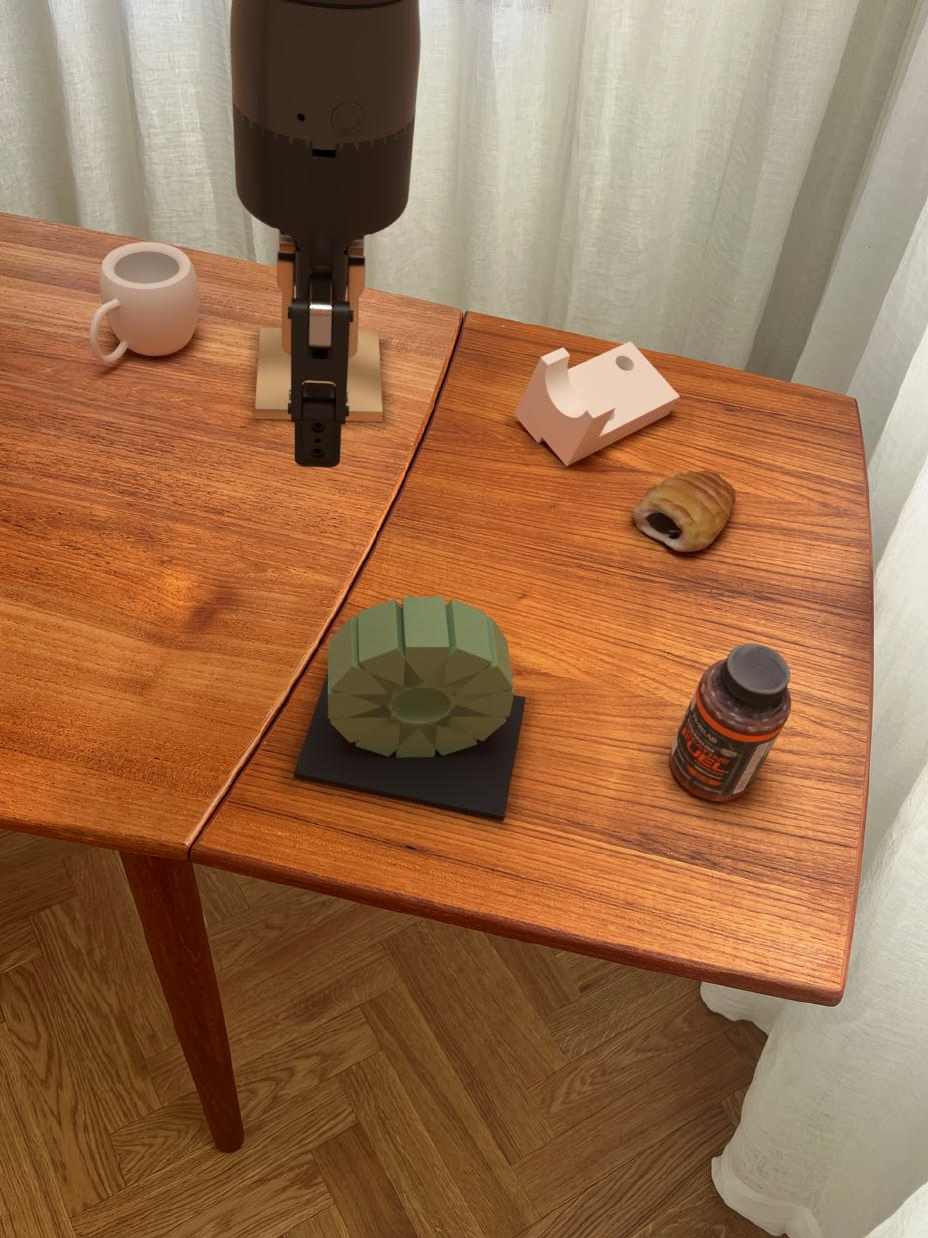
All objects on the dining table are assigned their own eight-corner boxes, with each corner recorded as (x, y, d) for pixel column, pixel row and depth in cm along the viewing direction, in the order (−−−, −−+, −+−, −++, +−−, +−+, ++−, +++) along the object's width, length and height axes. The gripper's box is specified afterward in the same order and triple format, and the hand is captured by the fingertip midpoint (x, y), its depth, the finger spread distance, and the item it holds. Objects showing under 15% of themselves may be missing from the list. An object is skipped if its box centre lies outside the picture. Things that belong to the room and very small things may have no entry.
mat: (293, 777, 73) (293, 772, 72) (332, 663, 80) (332, 657, 79) (502, 821, 72) (503, 816, 72) (524, 702, 79) (525, 696, 78)
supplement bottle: (650, 770, 76) (691, 666, 68) (695, 719, 79) (740, 614, 71) (725, 822, 74) (777, 721, 65) (768, 767, 77) (823, 664, 69)
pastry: (685, 473, 97) (697, 439, 94) (751, 513, 95) (764, 479, 92) (623, 524, 92) (633, 490, 89) (690, 567, 89) (702, 534, 87)
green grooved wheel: (501, 756, 75) (524, 646, 66) (327, 759, 73) (328, 647, 65) (495, 708, 77) (516, 596, 69) (327, 710, 76) (328, 596, 67)
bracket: (562, 472, 97) (593, 418, 91) (514, 414, 99) (540, 357, 92) (664, 420, 103) (699, 366, 97) (616, 366, 105) (647, 310, 99)
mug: (151, 302, 106) (141, 226, 100) (222, 334, 104) (216, 259, 98) (60, 362, 99) (44, 284, 93) (135, 398, 97) (123, 320, 91)
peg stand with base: (382, 425, 97) (388, 312, 89) (255, 423, 96) (248, 307, 87) (377, 340, 106) (382, 228, 97) (260, 336, 104) (255, 223, 96)
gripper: (241, 14, 50) (251, 324, 62) (219, 169, 40) (236, 499, 52) (409, 29, 51) (386, 332, 63) (425, 185, 41) (395, 505, 53)
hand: (318, 408), depth 58 cm, fingers open, 8 cm apart
